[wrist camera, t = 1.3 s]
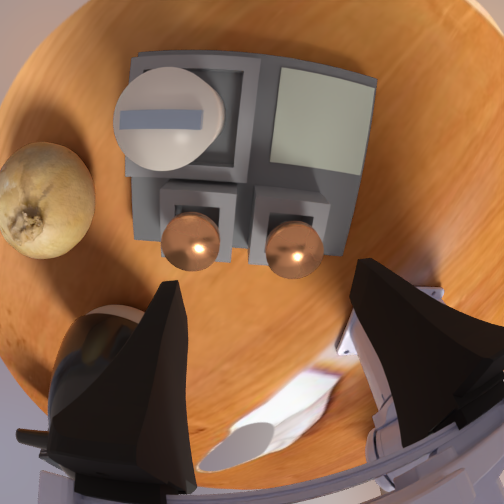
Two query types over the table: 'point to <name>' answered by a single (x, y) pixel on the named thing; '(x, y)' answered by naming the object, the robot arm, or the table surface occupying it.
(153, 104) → the disc
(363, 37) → the table surface
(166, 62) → the housing
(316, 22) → the table surface
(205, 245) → the plunger
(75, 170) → the onion
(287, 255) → the plunger
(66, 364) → the pump dispenser
